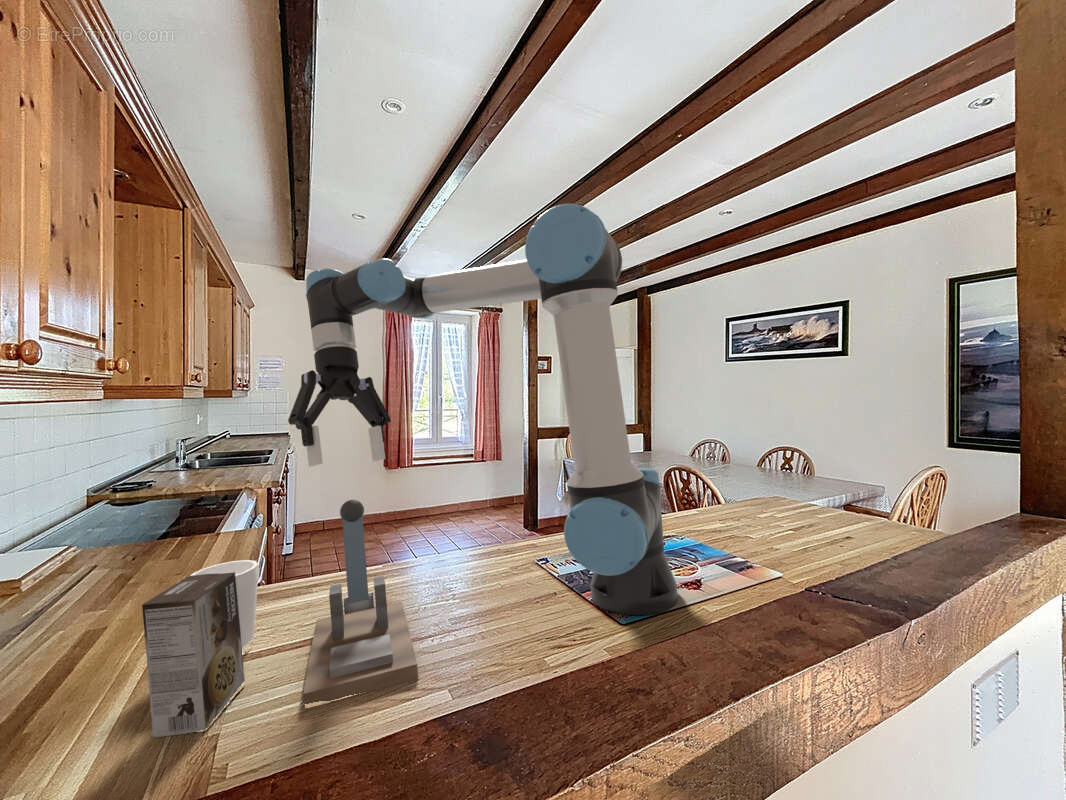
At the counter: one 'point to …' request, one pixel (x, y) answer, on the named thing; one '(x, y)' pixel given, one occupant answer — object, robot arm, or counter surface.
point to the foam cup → (241, 592)
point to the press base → (359, 649)
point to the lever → (355, 558)
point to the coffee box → (192, 652)
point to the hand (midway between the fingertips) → (349, 462)
